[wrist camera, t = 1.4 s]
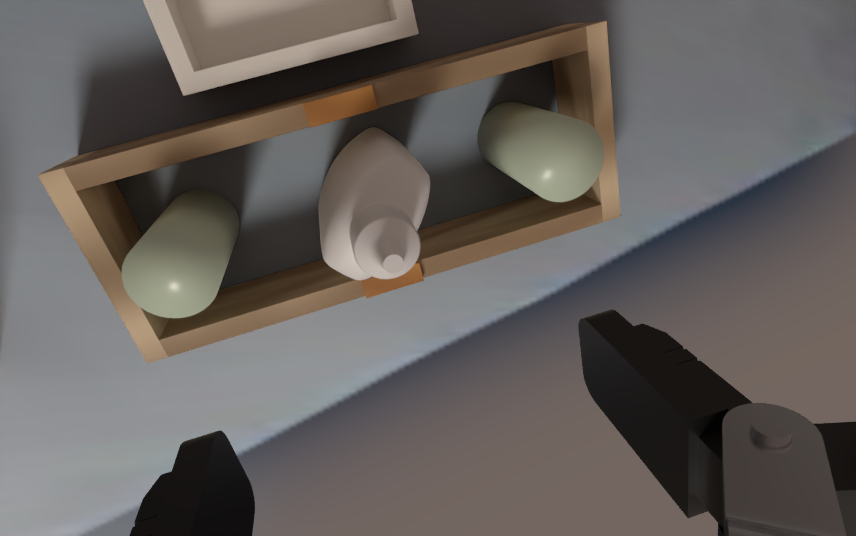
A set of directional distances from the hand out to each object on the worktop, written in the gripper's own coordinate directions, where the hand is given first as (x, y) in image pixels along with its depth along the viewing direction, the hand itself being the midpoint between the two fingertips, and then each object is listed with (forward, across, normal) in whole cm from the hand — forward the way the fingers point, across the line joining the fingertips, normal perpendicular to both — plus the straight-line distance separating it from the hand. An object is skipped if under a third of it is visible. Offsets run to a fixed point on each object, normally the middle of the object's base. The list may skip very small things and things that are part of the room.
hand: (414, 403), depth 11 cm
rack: (+18, -1, 0) cm, 18 cm away
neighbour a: (+18, +8, 0) cm, 20 cm away
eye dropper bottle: (+19, -1, 0) cm, 19 cm away
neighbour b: (+18, -9, -1) cm, 21 cm away
